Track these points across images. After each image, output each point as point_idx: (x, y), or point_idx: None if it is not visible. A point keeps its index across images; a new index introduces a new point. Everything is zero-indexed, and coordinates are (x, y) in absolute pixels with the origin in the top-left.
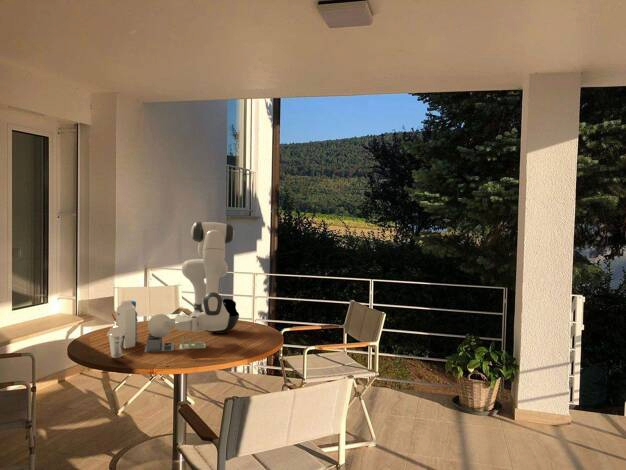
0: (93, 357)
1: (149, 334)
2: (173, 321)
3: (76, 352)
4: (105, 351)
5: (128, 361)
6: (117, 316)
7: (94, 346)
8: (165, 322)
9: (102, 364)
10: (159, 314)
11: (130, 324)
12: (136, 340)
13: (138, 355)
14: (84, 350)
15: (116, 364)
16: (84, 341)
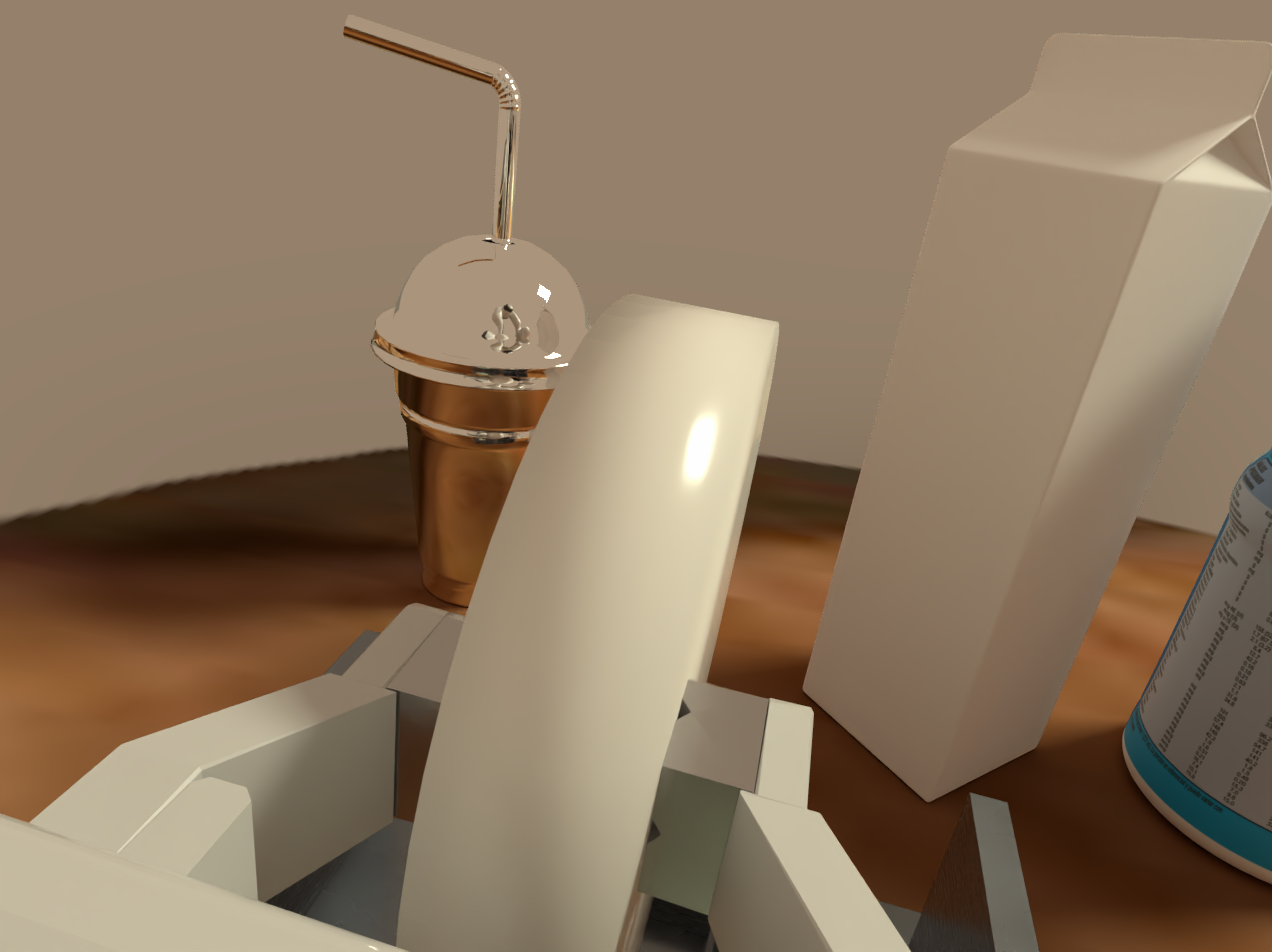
0: None
1: (966, 816)
2: (146, 803)
3: (768, 464)
4: (737, 563)
5: (175, 595)
6: (502, 113)
7: None
8: (409, 622)
9: (269, 474)
10: (615, 303)
11: (955, 450)
12: (1269, 874)
13: None
14: (822, 495)
15: (166, 520)
16: (1167, 546)
